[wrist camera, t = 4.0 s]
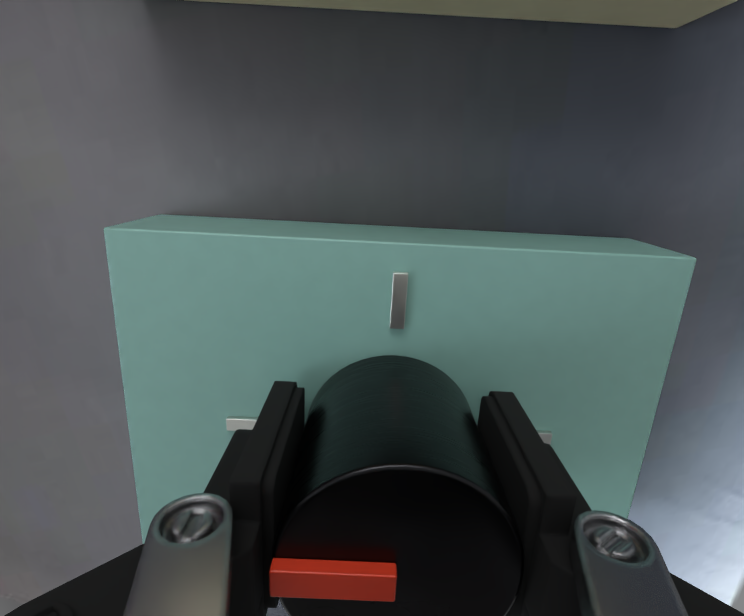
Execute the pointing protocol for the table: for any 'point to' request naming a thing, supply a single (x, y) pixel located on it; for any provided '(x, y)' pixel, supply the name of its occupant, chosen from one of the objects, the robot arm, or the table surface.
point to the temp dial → (394, 503)
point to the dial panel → (388, 332)
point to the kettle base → (530, 9)
